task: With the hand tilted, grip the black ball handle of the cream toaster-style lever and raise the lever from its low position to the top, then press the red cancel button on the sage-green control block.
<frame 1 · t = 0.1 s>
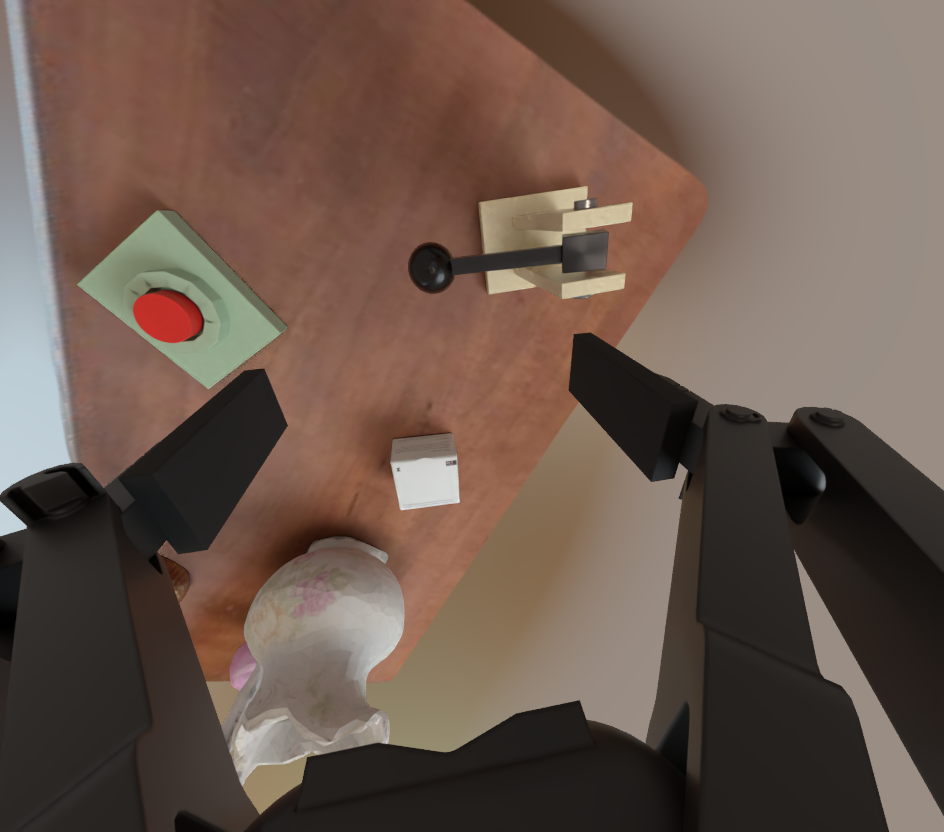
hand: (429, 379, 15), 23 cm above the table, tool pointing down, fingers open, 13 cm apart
small box: (426, 457, 45), on the table
bread roll: (150, 572, 48), on the table
cupcake: (278, 618, 57), on the table
lever: (500, 260, 24), point 10 cm above the table, hinge at -20.0°
button: (169, 316, 28), point 4 cm above the table, slide at 0.1 cm
toaster bracket: (531, 242, 33), on the table
ceramic pitcher: (337, 563, 52), on the table
button block: (199, 305, 32), on the table
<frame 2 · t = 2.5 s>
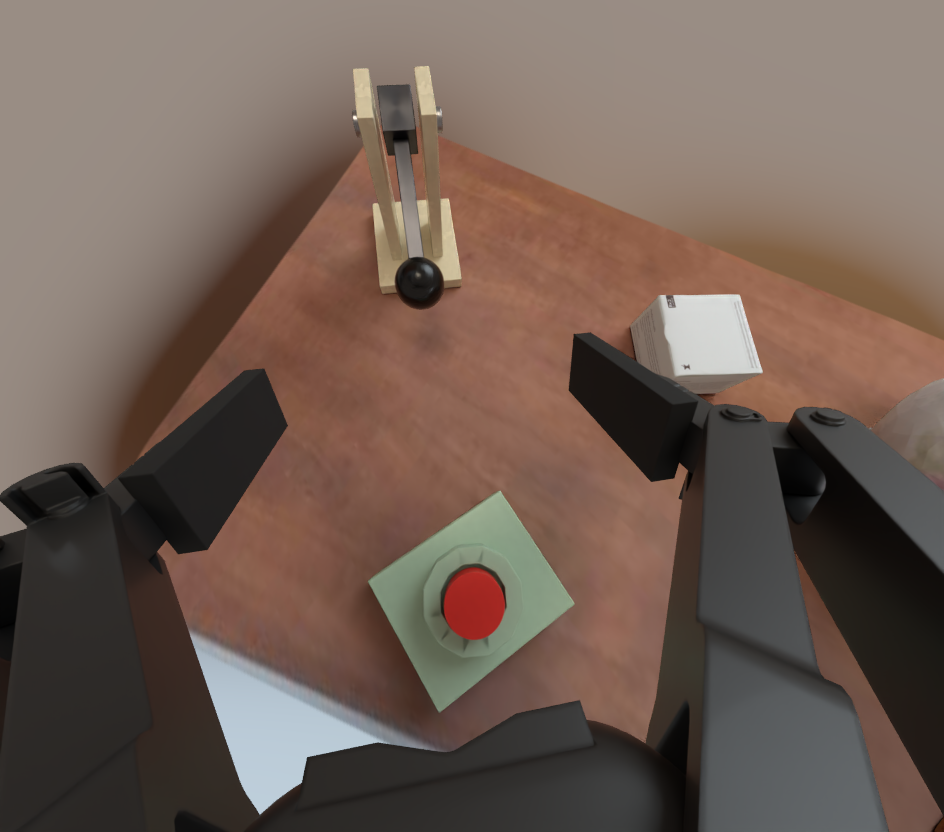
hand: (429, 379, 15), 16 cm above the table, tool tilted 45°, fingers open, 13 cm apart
small box: (670, 359, 33), on the table
lever: (409, 207, 24), point 10 cm above the table, hinge at -20.0°
button: (473, 601, 23), point 4 cm above the table, slide at 0.1 cm
toaster bracket: (417, 249, 35), on the table
ceramic pitcher: (899, 512, 30), on the table
button block: (470, 585, 27), on the table
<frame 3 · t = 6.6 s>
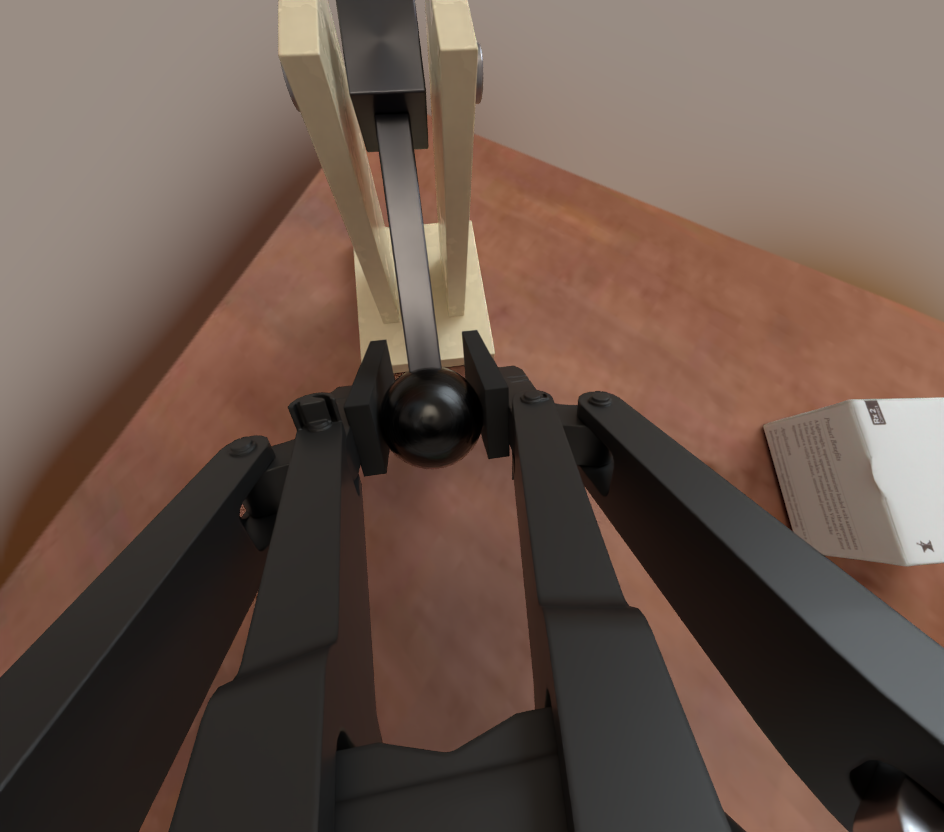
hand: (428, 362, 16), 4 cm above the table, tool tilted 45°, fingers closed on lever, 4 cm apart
small box: (830, 481, 21), on the table
lever: (411, 262, 11), point 10 cm above the table, hinge at -20.0°, touching gripper
toaster bracket: (422, 300, 22), on the table
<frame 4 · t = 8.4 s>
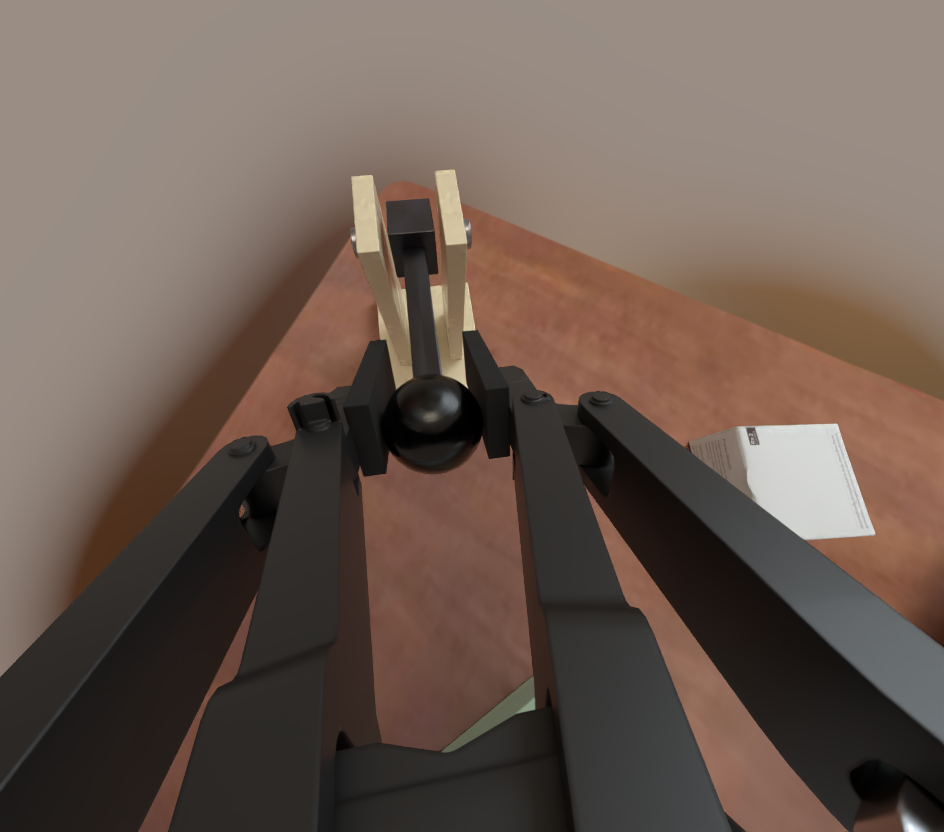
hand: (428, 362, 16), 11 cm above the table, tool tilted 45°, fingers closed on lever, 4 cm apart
small box: (739, 484, 27), on the table
lever: (421, 318, 15), point 13 cm above the table, hinge at 14.2°, touching gripper
toaster bracket: (429, 345, 29), on the table
button block: (503, 813, 21), on the table
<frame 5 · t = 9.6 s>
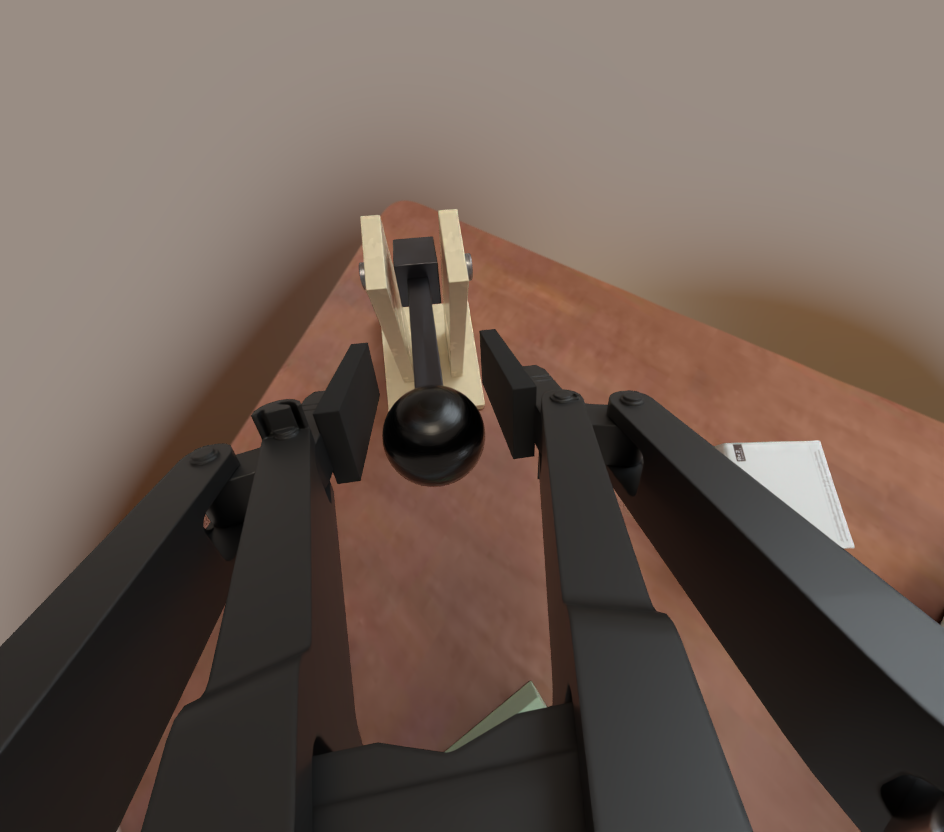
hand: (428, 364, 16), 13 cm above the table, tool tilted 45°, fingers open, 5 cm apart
small box: (728, 496, 28), on the table
lever: (424, 338, 15), point 14 cm above the table, hinge at 22.4°
toaster bracket: (431, 361, 30), on the table
button block: (502, 812, 22), on the table
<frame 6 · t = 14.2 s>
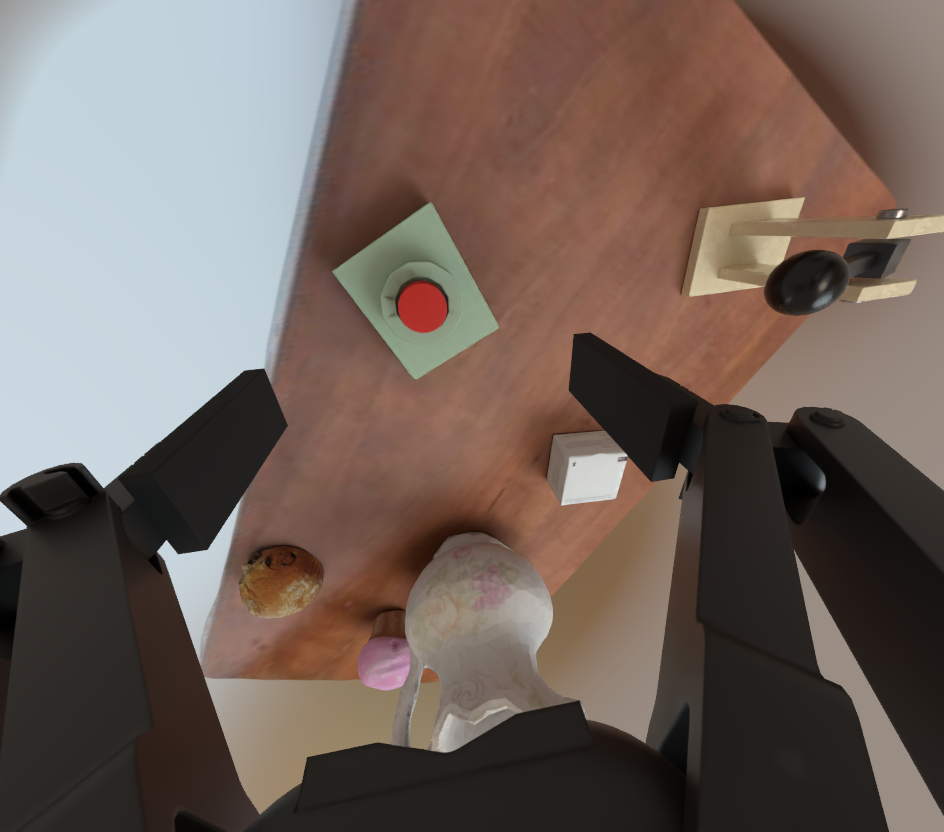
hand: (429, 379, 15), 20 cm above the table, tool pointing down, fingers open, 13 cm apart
small box: (575, 454, 45), on the table
bread roll: (285, 566, 47), on the table
cupcake: (390, 615, 57), on the table
lever: (840, 270, 22), point 14 cm above the table, hinge at 22.4°
button: (422, 306, 28), point 4 cm above the table, slide at 0.1 cm
toaster bracket: (734, 248, 34), on the table
ceramic pitcher: (462, 559, 52), on the table
button block: (421, 297, 32), on the table
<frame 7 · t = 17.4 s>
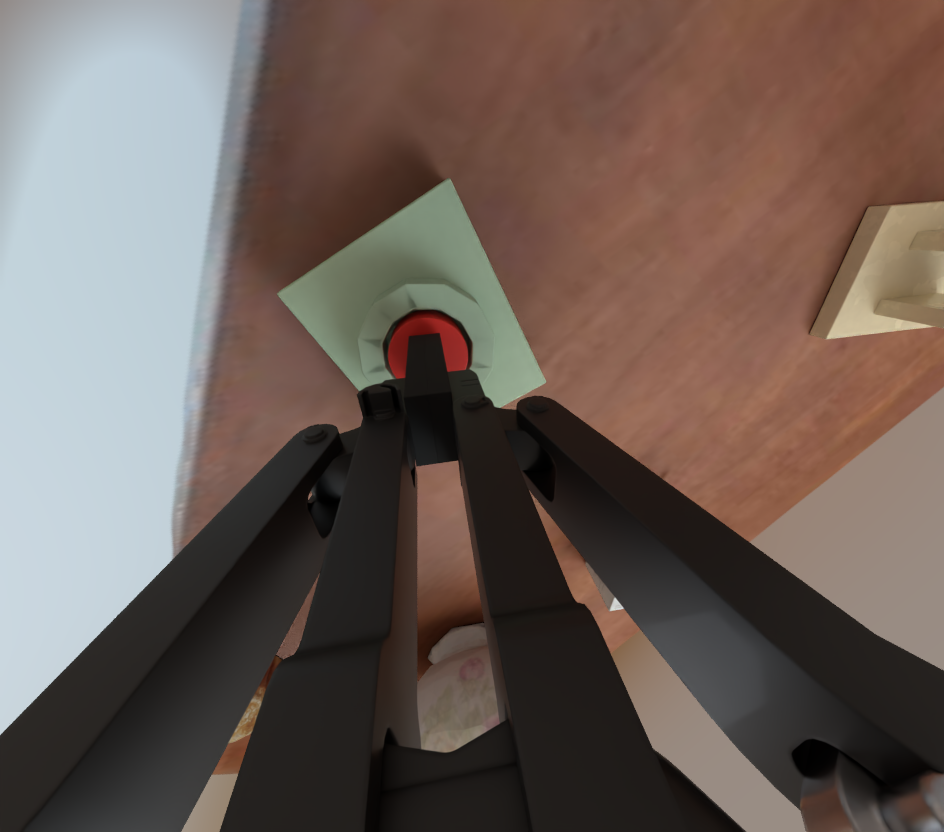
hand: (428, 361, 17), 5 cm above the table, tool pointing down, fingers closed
small box: (626, 534, 34), on the table
bread roll: (236, 664, 36), on the table
button: (428, 352, 17), point 4 cm above the table, slide at -0.8 cm, touching gripper
toaster bracket: (900, 269, 23), on the table
ceramic pitcher: (468, 649, 41), on the table
button block: (427, 332, 21), on the table
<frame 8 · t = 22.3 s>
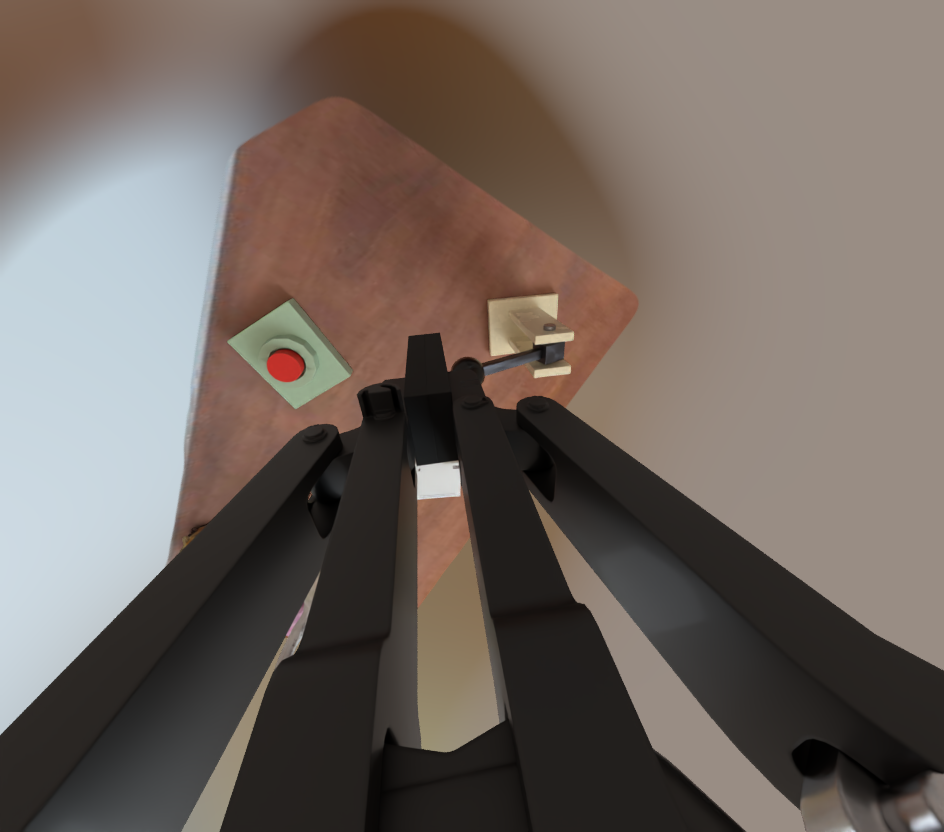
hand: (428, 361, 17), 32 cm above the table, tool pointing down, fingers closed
small box: (436, 462, 60), on the table
lever: (508, 362, 37), point 14 cm above the table, hinge at 22.4°
button: (286, 365, 43), point 4 cm above the table, slide at 0.1 cm
toaster bracket: (521, 324, 49), on the table
ceramic pitcher: (361, 540, 68), on the table
button block: (296, 354, 47), on the table
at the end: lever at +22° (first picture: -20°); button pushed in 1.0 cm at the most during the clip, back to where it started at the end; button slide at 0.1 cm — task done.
